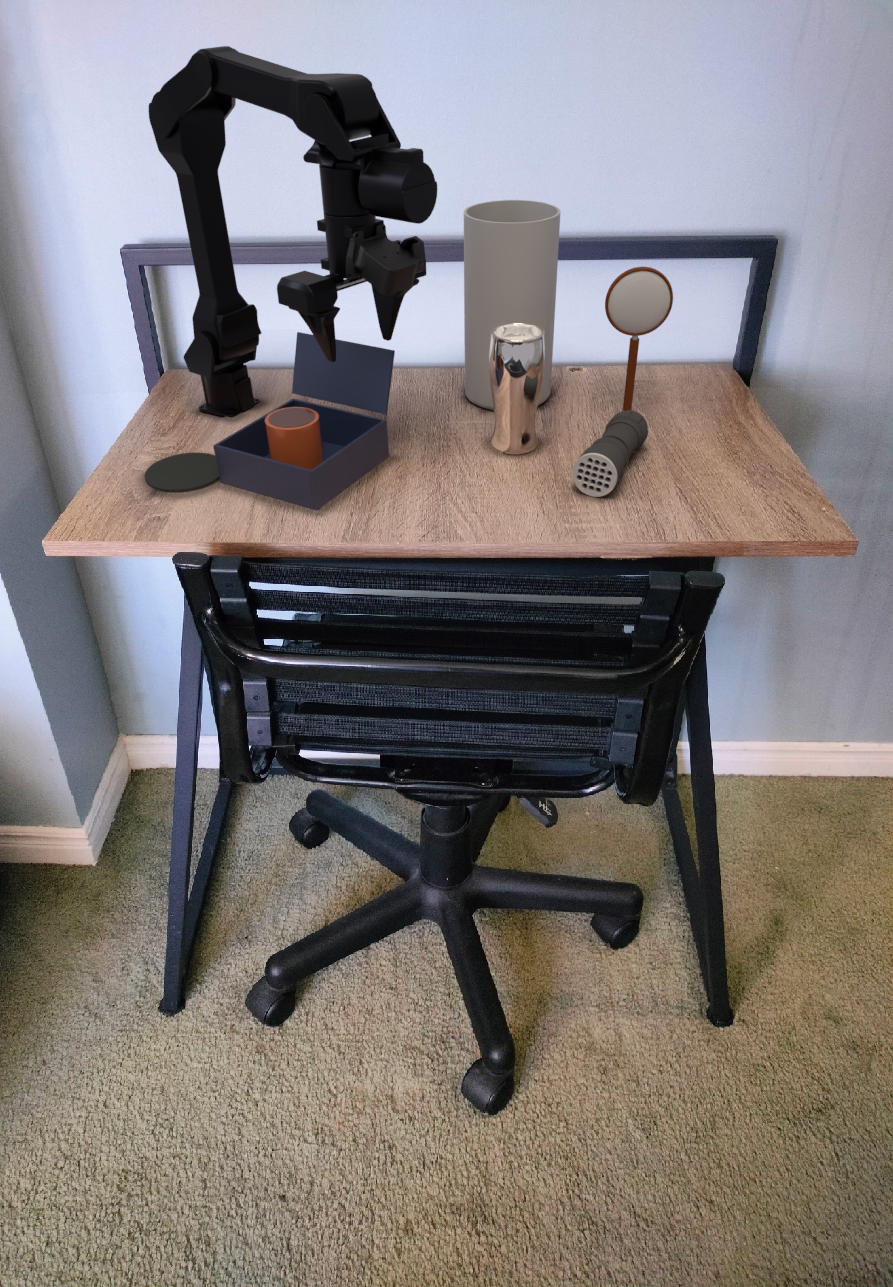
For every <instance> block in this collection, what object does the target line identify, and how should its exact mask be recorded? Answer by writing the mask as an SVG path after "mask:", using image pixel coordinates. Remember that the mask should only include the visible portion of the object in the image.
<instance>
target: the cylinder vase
mask: <svg viewBox="0 0 893 1287" xmlns="http://www.w3.org/2000/svg"><path fill="white" fill-rule="evenodd" d="M560 226H561V208H559V207H558V206H556V205H554V204H551V203H547V202H543V201H537V200H526V199H525V200H524V199H501V200H490V201H485V202H479V203H474V204H472V205H469V206H467V207H466V208H464V210H463V306H464V307H463V309H464V310H463V312H464V313H463V314H464V317H463V319H464V321H463V322H464V323H463V324H464V332H463V334H464V392H465V393H464V394H465V396H466V398H467V399H468V401H470V402H471V403H472V404H474V405H476V406H477V407H480V408H483V409H487V410H491V411H494V405H493V400H492V394H491V387H490V379H489V351H490V341H491V330H492V329H493V328H494V327H496V326H498V325H502V324H506V323H529V324H534V325H537V326H539V327H541V328H542V329H543V330H544V345H545V366H544V377H543V383H542V388H541V393H540V397H539V401H538V406H540V405H541V404H542V405H543V403H545V402H546V401H547V400H548V398H549V397H550V395H551V390H552V371H553V354H554V353H553V352H554V336H555V335H554V334H555V333H554V332H555V317H556V300H557V284H558V282H557V281H558V266H559V263H558V262H559V244H560V229H561V228H560Z"/></svg>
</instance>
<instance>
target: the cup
mask: <svg viewBox="0 0 893 1287" xmlns="http://www.w3.org/2000/svg"><path fill="white" fill-rule="evenodd" d="M270 412H271V411H270ZM265 426H266V432H267V439H268V445H269V452H270V458H271V459H272V460H276V461H280V462H284V463H288V464H291V465H295V466H299V467H303V468H306V469H310V470H312V469H314V468H315V467H316V466H318V465H319V464H321V463H322V462H324V456H323V447H322V439H321V430H320V421H319V415H318V413H317V412H316V411H314V410H312V409H310V408H305V407H288V408H282V409H278V410H276V411H273V412H271V413H270V414H268V415H267V416H266V418H265Z"/></svg>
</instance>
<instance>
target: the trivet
mask: <svg viewBox="0 0 893 1287" xmlns="http://www.w3.org/2000/svg"><path fill="white" fill-rule="evenodd" d="M144 480H145V483H146V484H147V486H149V488H151V489H153V490H155V491H159V492H163V493H169V494H170V493H172V494H174V493H176V494H177V493H180V494H181V493H189V492H194V491H198V490H202V489H205V488H207V487H208V488H209V486H212V485H214V484H215V483H217V482H220V477H219V472H218V467H217V462H216V457H215V454H211V453H206V452H184V453H183V452H182V453H178V454H174V455H170V456H166V457H164V458H162V459H159V460H157V461H156V462H154V463H152V464H151V465H149V467H148V468H147V469H146V470H145V473H144Z"/></svg>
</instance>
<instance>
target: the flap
mask: <svg viewBox="0 0 893 1287" xmlns="http://www.w3.org/2000/svg"><path fill="white" fill-rule="evenodd" d="M335 340H336V361H335V362H331V361H328V360H327V358H326V356H325V354H324V353H323V351H322V349H321V347H320V346H319V344H318V342H317V341H316V339H315V337H314V335H313V334H312V333H311V334H310V333H305V332H300V331H297V332H296V340H295V354H294V363H293V377H292V386H291V394H293V395H297V396H302V397H307V398H310V399H314V400H318V401H319V400H320V401H324V402H328V403H332V404H338V405H341V406H345V407H346V406H347V407H350V408H355V409H358V410H364V411H368V412H372V413H377V414H381V415H388V410H389V409H388V408H389V401H390V392H391V385H392V376H393V368H394V361H395V352H396V350H394V349H388V348H384V347H379V346H373V345H369V344H362V343H358V342H353V341H347V340H341V339H337V338H335Z"/></svg>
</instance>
